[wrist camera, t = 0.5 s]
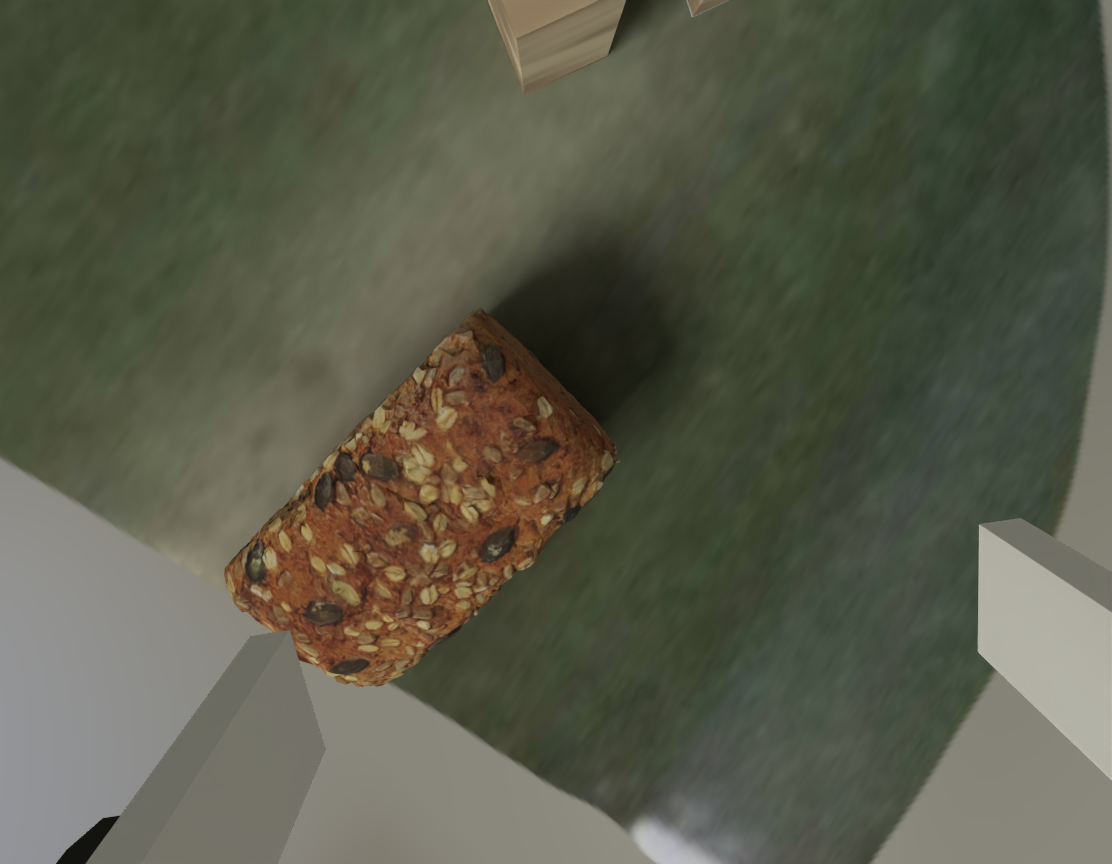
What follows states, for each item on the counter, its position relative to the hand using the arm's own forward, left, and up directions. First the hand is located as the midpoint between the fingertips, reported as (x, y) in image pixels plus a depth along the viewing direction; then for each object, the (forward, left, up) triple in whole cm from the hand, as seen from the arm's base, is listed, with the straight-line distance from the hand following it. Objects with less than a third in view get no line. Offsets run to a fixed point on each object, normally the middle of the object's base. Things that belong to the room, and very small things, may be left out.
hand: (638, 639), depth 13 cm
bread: (+2, -10, -27) cm, 29 cm away
